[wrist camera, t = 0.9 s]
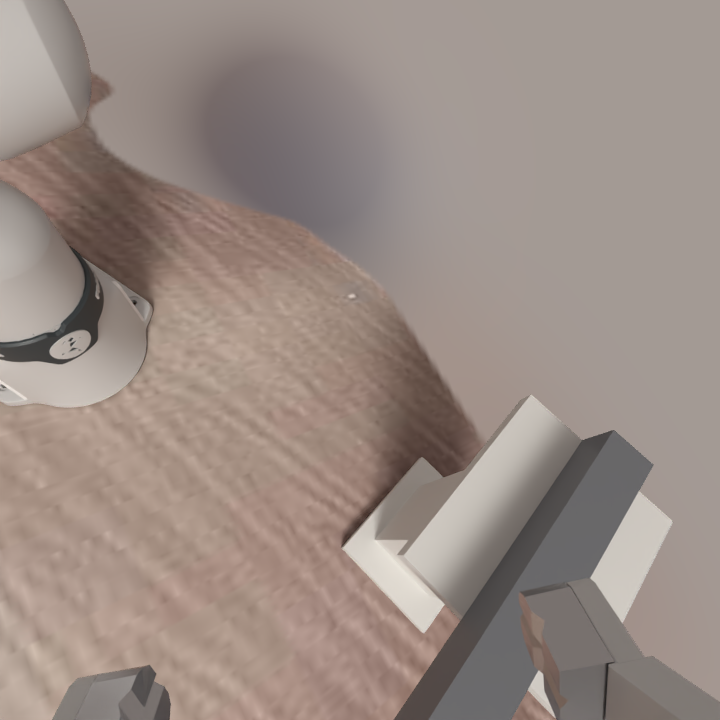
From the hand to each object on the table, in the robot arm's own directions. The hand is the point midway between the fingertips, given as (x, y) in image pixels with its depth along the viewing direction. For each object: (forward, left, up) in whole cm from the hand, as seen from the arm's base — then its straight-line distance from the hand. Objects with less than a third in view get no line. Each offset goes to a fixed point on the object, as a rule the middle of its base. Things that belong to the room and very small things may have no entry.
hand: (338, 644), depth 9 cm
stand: (+9, +12, -41) cm, 43 cm away
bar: (+9, +7, -15) cm, 19 cm away
